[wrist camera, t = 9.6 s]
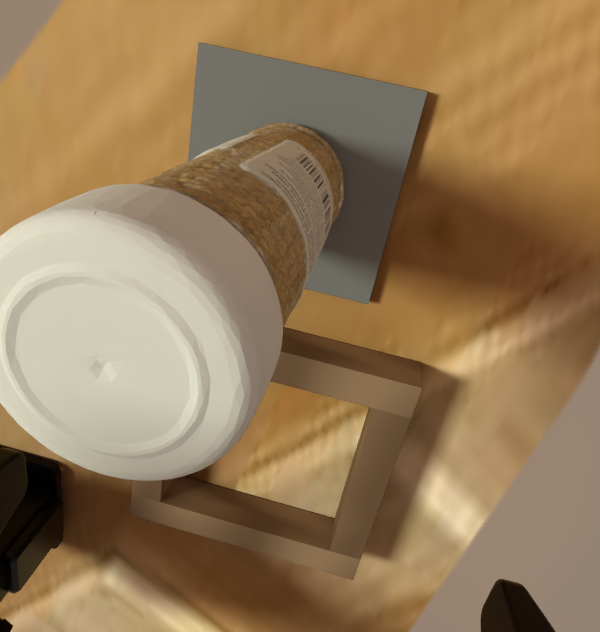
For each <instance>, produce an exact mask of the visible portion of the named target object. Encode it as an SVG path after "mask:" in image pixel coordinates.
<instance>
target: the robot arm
mask: <svg viewBox="0 0 600 632" xmlns="http://www.w3.org/2000/svg"><path fill="white" fill-rule="evenodd" d="M62 533H63V502H62V500H61V471H60V468H59V467H58V466H57V465H56V464H55V463H53V462H50V461H46V460H43V459H39V458H36V457H32V456H29V455H25V454H23V453H22V452H20V451H16V450H12V449H9V448H1V447H0V602H1V601H2V600H3V598H4V597H5V596H6V594H7V593H8V592H10V593H16V592H18V591H20V590H21V589H22V587H23V586H24V585H25V583H26V582H27V580H28V579H29V578H30V576H31V575H32V574H33V572H34V571H35V570H36V568H37V567H38V566H39V564H40V563H41V561H42V560H43V559H44V557H45V556H46V555H47V553H48V552H49V551H50V549H51V548H53V549H54V548H57V547H58V546H59V545H60V543H61V542H62ZM12 627H13V625H12V624H11V623H9V622H8V621H7V620H6V619H3V620H2V619H1V618H0V632H10V631H11V629H12ZM481 632H555V630H554V629H553V627H552V626H551V624H550V623H549V622H548V620H547V619H546V617H545V616H544V614H543V613H542V611H541V610H540V609H539V607H538V606H537V604H536V603H535V601H534V600H533V598H532V597H531V595H530V594H529V593H528V591H527V590H526V589H525V587H524V586H523V585H521V584H519V583H516V582H512V581H508V580H504V579H499V580H497V581H496V583H495V584H494V586H493V588H492V590H491V592H490V594H489V596H488V598H487V600H486V602H485V604H484V606H483V609H482V613H481Z"/></svg>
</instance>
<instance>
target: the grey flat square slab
mask: <svg viewBox="0 0 600 632" xmlns="http://www.w3.org/2000/svg"><path fill="white" fill-rule="evenodd" d="M426 95H427V91H423V90H419V89H414V88H409V87H405V86H400V85H395V84H391V83H386V82H381V81H377V80H372V79H368V78H363V77H358V76H354V75H349V74H344V73H340V72H335V71H330V70H326V69H321V68H316V67H312V66H307V65H302V64H298V63H293V62H289V61H284V60H279V59H275V58H270V57H265V56H261V55H256V54H251V53H247V52H242V51H237V50H233V49H228V48H224V47H219V46H214V45H210V44H205V43H199V44H198V56H197V67H196V78H195V89H194V101H193V112H192V123H191V135H190V146H189V157H188V161H191V160H192V159H194V158H195V157H197V156H198V155H200V154H201V153H203V152H205V151H207V150H209V149H211V148H214V147H216V146H218V145H221V144H223V143H225V142H228V141H230V140H233V139H235V138H238V137H241V136H244V135H247V134H248V133H249V132H251V131H253V130H256V129H258V128H260V127H263V126H265V125H267V124H271V123H282V122H289V123H295V124H298V125H301V126H303V127H305V128H307V129H310V130H313V131H314V132H315V133H316V134H317V135H319V136H320V137H321V138H323V139H324V140H325V141H326V142H327V143H328V144H329V145H330V146H331V148H332V149H333V151H334V152H335V154H336V156H337V158H338V159H339V161H340V164H341V166H342V171H343V177H344V183H345V184H344V191H345V192H344V200H343V204H342V207H341V210H340V213H339V215H338V216H337V218H336V220H335V221H334V223H333V224H332V226H331V227H330V230H329V233H328V236H327V238H326V240H325V243H324V245H323V248H322V250H321V252H320V255H319V257H318V259H317V261H316V264H315V266H314V268H313V270H312V273H311V275H310V277H309V279H308V282H307V284H306V286H305V289H309V290H313V291H317V292H321V293H325V294H329V295H333V296H337V297H341V298H345V299H349V300H353V301H357V302H361V303H365V304H369V300H370V297H371V293H372V289H373V286H374V282H375V279H376V275H377V271H378V268H379V264H380V261H381V257H382V253H383V250H384V246H385V243H386V239H387V236H388V232H389V228H390V225H391V221H392V218H393V214H394V210H395V207H396V203H397V200H398V196H399V192H400V189H401V185H402V182H403V178H404V174H405V171H406V167H407V164H408V160H409V156H410V153H411V149H412V146H413V142H414V139H415V135H416V131H417V128H418V124H419V121H420V117H421V113H422V110H423V106H424V103H425V99H426Z"/></svg>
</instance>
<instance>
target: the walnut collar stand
mask: <svg viewBox="0 0 600 632" xmlns="http://www.w3.org/2000/svg"><path fill="white" fill-rule="evenodd" d="M270 381H272V382H276V383H279V384H283V385H287V386H291V387H295V388H298V389H302V390H306V391H310V392H313V393H317V394H321V395H325V396H329V397H332V398H336V399H340V400H344V401H348V402H351V403H355V404H359V405H363V406H366V407H369V410H368V413H367V416H366V419H365V423H364V426H363V429H362V432H361V436H360V439H359V442H358V445H357V448H356V452H355V455H354V458H353V461H352V464H351V468H350V471H349V474H348V477H347V481H346V484H345V487H344V490H343V493H342V497H341V500H340V503H339V506H338V510H337V513H336V516H335V519H333V518H330V517H326V516H322V515H319V514H315V513H312V512H308V511H305V510H301V509H298V508H294V507H291V506H287V505H284V504H280V503H276V502H273V501H269V500H266V499H262V498H259V497H255V496H252V495H248V494H245V493H241V492H238V491H234V490H230V489H227V488H223V487H220V486H216V485H213V484H209V483H206V482H202V481H199V480H195V479H192V478H188V477H184V476H183V477H178V478H174V479H168V480H155V481H138V480H132V493H131V511H130V515H131V516H135V517H138V518H141V519H145V520H148V521H152V522H155V523H159V524H162V525H165V526H169V527H172V528H176V529H179V530H183V531H186V532H190V533H193V534H196V535H200V536H203V537H207V538H210V539H214V540H217V541H220V542H224V543H227V544H231V545H234V546H238V547H241V548H245V549H248V550H251V551H255V552H258V553H262V554H265V555H269V556H272V557H275V558H279V559H282V560H286V561H289V562H293V563H296V564H300V565H303V566H306V567H310V568H313V569H317V570H320V571H324V572H327V573H330V574H334V575H337V576H341V577H344V578H348V579H351V580H353V579H354V576H355V573H356V570H357V567H358V565H359V562H360V559H361V556H362V554H363V551H364V548H365V545H366V543H367V540H368V537H369V534H370V531H371V529H372V526H373V523H374V520H375V518H376V515H377V512H378V509H379V507H380V504H381V501H382V498H383V495H384V493H385V490H386V487H387V484H388V482H389V479H390V476H391V473H392V471H393V468H394V465H395V462H396V459H397V457H398V454H399V451H400V448H401V446H402V443H403V440H404V437H405V435H406V432H407V429H408V426H409V423H410V421H411V418H412V415H413V412H414V410H415V407H416V404H417V401H418V399H419V396H420V393H421V390H422V377H421V362H417V361H413V360H409V359H405V358H401V357H397V356H393V355H389V354H385V353H381V352H377V351H374V350H370V349H366V348H362V347H358V346H354V345H350V344H346V343H342V342H338V341H334V340H331V339H327V338H323V337H319V336H315V335H311V334H307V333H303V332H299V331H295V330H291V329H288V328H284V327H283V337H282V346H281V351H280V356H279V359H278V362H277V365H276V368H275V371H274V373H273V376H272V378H271V380H270Z"/></svg>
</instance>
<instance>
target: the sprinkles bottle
mask: <svg viewBox="0 0 600 632" xmlns="http://www.w3.org/2000/svg"><path fill="white" fill-rule="evenodd" d="M344 184H345V183H344V177H343V171H342V166H341V164H340V161H339V159H338V158H337V156H336V154H335V152H334V151H333V149H332V148H331V146H330V145H329V144H328V143H327V142H326V141H325V140H324V139H323V138H321V137H320V136H319V135H317V134H316V133H315V132H314V131H313V130H310V129H307V128H305V127H303V126H301V125H298V124H295V123H289V122H282V123H271V124H267V125H265V126H263V127H260V128H258V129H256V130H253V131H251V132H249V133H248V134H247V135H244V136H241V137H238V138H235V139H233V140H230V141H228V142H225V143H223V144H221V145H218V146H216V147H214V148H211V149H209V150H207V151H205V152H203V153H201V154H200V155H198V156H197V157H195V158H194V159H192V160H191V161H188V162H185V163H183V164H181V165H178V166H176V167H175V168H172V169H170V170H167V171H165V172H162V173H160V174H158V175H157V176H155V177H153V178H150V179H147V180H145V181H143V182H141V183H138V184H121V185H110V186H106V187H102V188H98V189H94V190H91V191H89V192H86V193H83V194H81V195H78V196H76V197H73V198H71V199H69V200H66V201H64V202H61V203H59V204H57V205H55V206H53V207H50V208H48V209H46V210H44V211H42V212H40V213H38V214H36V215H34V216H32V217H30V218H28V219H26V220H24V221H22V222H20V223H18V224H17V225H15V226H13V227H11V228H10V229H9V230H8V231H6V232H5V233H4V234H3V235H2V236H0V403H1V404H2V405H3V407H4V408H5V409H6V410H7V412H8V413H9V414H10V415H11V416H12V417H13V418H14V419H15V421H16V422H17V423H18V424H19V425H20V426H21V427H22V428H23V429H25V430H26V431H27V432H28V433H29V434H30V435H32V436H33V437H34V438H35V439H36V440H37V441H38V442H40V443H41V444H43V445H44V446H45V447H47V448H48V449H50V450H51V451H52V452H54V453H56V454H58V455H59V456H61V457H63V458H65V459H67V460H69V461H71V462H73V463H75V464H77V465H79V466H81V467H84V468H86V469H88V470H91V471H94V472H97V473H100V474H103V475H107V476H111V477H116V478H122V479H128V480H138V481H155V480H168V479H174V478H178V477H183V476H186V475H189V474H192V473H195V472H197V471H200V470H202V469H204V468H206V467H207V466H209V465H211V464H213V463H215V462H216V461H217V460H219V459H220V458H221V457H222V456H224V455H225V454H226V453H228V452H229V451H230V450H231V449H232V447H233V446H234V445H235V444H236V443H237V442H238V441H239V440H240V439H241V437H242V436H243V434H244V433H245V431H246V429H247V428H248V426H249V424H250V422H251V420H252V418H253V416H254V414H255V412H256V410H257V408H258V406H259V404H260V402H261V400H262V398H263V396H264V394H265V392H266V390H267V388H268V385H269V383H270V380H271V378H272V376H273V373H274V371H275V368H276V365H277V362H278V359H279V356H280V351H281V346H282V337H283V327H284V325H285V323H286V321H287V318H288V317H289V315H290V313H291V312H292V311H293V309H294V308H295V306H296V305H297V303H298V301H299V299H300V297H301V295H302V293H303V291H304V289H305V286H306V284H307V282H308V279H309V277H310V275H311V273H312V270H313V268H314V266H315V264H316V261H317V259H318V257H319V255H320V252H321V250H322V248H323V245H324V243H325V240H326V238H327V236H328V233H329V230H330V227H331V226H332V224H333V223H334V221H335V220H336V218H337V216H338V215H339V213H340V210H341V207H342V204H343V200H344V192H345V191H344Z"/></svg>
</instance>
